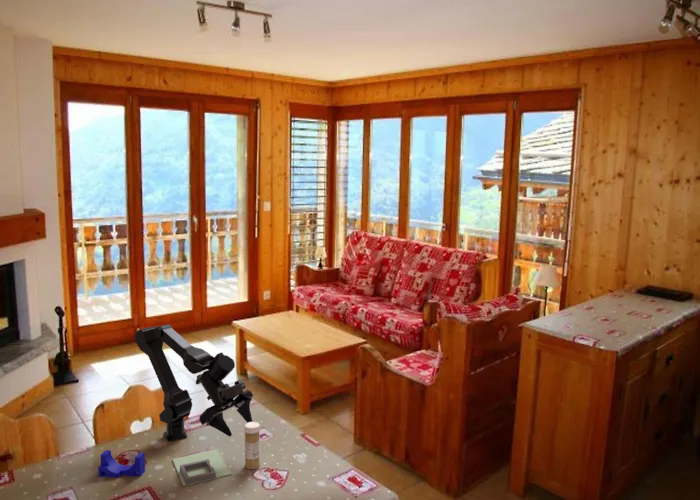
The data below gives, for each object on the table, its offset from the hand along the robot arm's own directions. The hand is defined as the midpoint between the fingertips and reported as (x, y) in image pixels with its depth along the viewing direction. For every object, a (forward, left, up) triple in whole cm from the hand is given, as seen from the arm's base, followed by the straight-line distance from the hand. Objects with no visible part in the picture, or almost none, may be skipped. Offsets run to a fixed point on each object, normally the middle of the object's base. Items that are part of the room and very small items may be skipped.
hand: (241, 430), depth 171 cm
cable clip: (-9, -34, -11) cm, 36 cm away
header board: (-2, -12, -10) cm, 16 cm away
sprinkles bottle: (+4, +2, -11) cm, 12 cm away
